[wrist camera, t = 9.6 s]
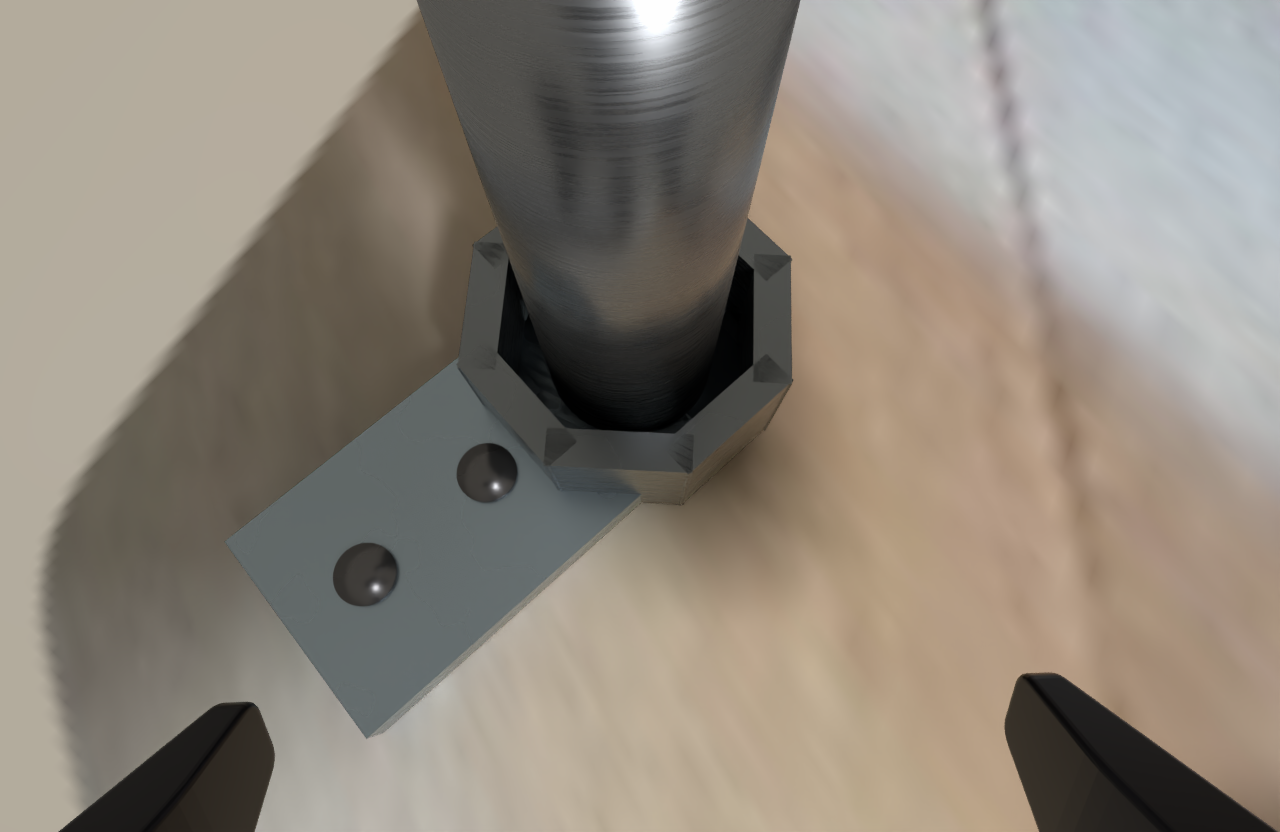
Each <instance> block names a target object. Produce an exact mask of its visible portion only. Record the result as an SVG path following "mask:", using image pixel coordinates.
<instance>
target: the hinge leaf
mask: <svg viewBox="0 0 1280 832" xmlns="http://www.w3.org/2000/svg"><path fill="white" fill-rule="evenodd" d="M473 248H474V249H473V256H472V264H471V271H470V278H469V285H468V293H467V300H466V307H465V315H464V322H463V329H462V337H461V344H460V351H459V357H458V358H457V359H456V360H454V361H453V362H452V363H450V364H449V365H448V366H447V367H445V368H444V369H443V370H442V371H440V372H439V373H438V374H437V375H435V376H434V377H433V378H431V379H430V380H429V381H428V382H426V383H425V384H424V385H423V386H421V387H420V388H419V389H417V390H416V391H415V392H414V393H412V394H411V395H410V396H409V397H407V398H406V399H405V400H404V401H402V402H401V403H400V404H398V405H397V406H396V407H395V408H393V409H392V410H391V411H390V412H388V413H387V414H386V415H384V416H383V417H382V418H381V419H379V420H378V421H377V422H376V423H374V424H373V425H372V426H371V427H369V428H368V429H367V430H365V431H364V432H363V433H362V434H360V435H359V436H358V437H357V438H355V439H354V440H353V441H351V442H350V443H349V444H348V445H346V446H345V447H344V448H343V449H341V450H340V451H339V452H338V453H336V454H335V455H334V456H332V457H331V458H330V459H329V460H327V461H326V462H325V463H324V464H322V465H321V466H320V467H318V468H317V469H316V470H315V471H313V472H312V473H311V474H310V475H308V476H307V477H306V478H305V479H303V480H302V481H301V482H299V483H298V484H297V485H296V486H294V487H293V488H292V489H291V490H289V491H288V492H287V493H285V494H284V495H283V496H282V497H280V498H279V499H278V500H277V501H275V502H274V503H273V504H272V505H270V506H269V507H268V508H266V509H265V510H264V511H263V512H261V513H260V514H259V515H258V516H256V517H255V518H254V519H252V520H251V521H250V522H249V523H247V524H246V525H245V526H244V527H242V528H241V529H240V530H239V531H237V532H236V533H235V534H233V535H232V536H231V537H230V538H228V539H227V540H226V541H225V543H226V544H227V546H228V547H229V549H230V550H231V551H232V553H233V554H234V556H235V557H236V558H237V560H238V561H239V563H240V564H241V565H242V567H243V568H244V569H245V571H246V572H247V574H248V575H249V576H250V578H251V579H252V581H253V582H254V583H255V585H256V586H257V587H258V589H259V590H260V592H261V593H262V594H263V596H264V597H265V599H266V600H267V601H268V603H269V604H270V606H271V607H272V608H273V610H274V611H275V612H276V614H277V615H278V617H279V618H280V619H281V621H282V622H283V624H284V625H285V626H286V628H287V629H288V630H289V632H290V633H291V635H292V636H293V637H294V639H295V640H296V642H297V643H298V644H299V646H300V647H301V649H302V650H303V651H304V653H305V654H306V655H307V657H308V658H309V660H310V661H311V662H312V664H313V665H314V667H315V668H316V669H317V671H318V672H319V673H320V675H321V676H322V678H323V679H324V680H325V682H326V683H327V685H328V686H329V687H330V689H331V690H332V691H333V693H334V694H335V696H336V697H337V698H338V700H339V701H340V703H341V704H342V705H343V707H344V708H345V710H346V711H347V712H348V714H349V715H350V716H351V718H352V719H353V721H354V722H355V723H356V725H357V726H358V728H359V729H360V730H361V732H362V733H363V734H364V736H365V737H366V739H367V738H370V737H373V736H376V735H379V734H381V733H383V732H385V731H386V730H387V729H388V728H389V727H390V726H391V725H392V724H394V723H395V722H396V721H397V720H398V719H399V718H400V717H401V716H402V715H404V714H405V713H406V712H407V711H408V710H409V709H410V708H411V707H413V706H414V705H415V704H416V703H417V702H418V701H419V700H420V699H422V698H423V697H424V696H425V695H426V694H427V693H428V692H429V691H430V690H432V689H433V688H434V687H435V686H436V685H437V684H438V683H439V682H441V681H442V680H443V679H444V678H445V677H446V676H447V675H448V674H450V673H451V672H452V671H453V670H454V669H455V668H456V667H457V666H459V665H460V664H461V663H462V662H463V661H464V660H465V659H466V658H467V657H469V656H470V655H471V654H472V653H473V652H474V651H475V650H476V649H478V648H479V647H480V646H481V645H482V644H483V643H484V642H485V641H487V640H488V639H489V638H490V637H491V636H492V635H493V634H494V633H495V632H497V631H498V630H499V629H500V628H501V627H502V626H503V625H504V624H506V623H507V622H508V621H509V620H510V619H511V618H512V617H513V616H515V615H516V614H517V613H518V612H519V611H520V610H521V609H522V608H524V607H525V606H526V605H527V604H528V603H529V602H530V601H531V600H532V599H534V598H535V597H536V596H537V595H538V594H539V593H540V592H541V591H543V590H544V589H545V588H546V587H547V586H548V585H549V584H550V583H552V582H553V581H554V580H555V579H556V578H557V577H558V576H559V575H560V574H562V573H563V572H564V571H565V570H566V569H567V568H568V567H569V566H571V565H572V564H573V563H574V562H575V561H576V560H577V559H578V558H580V557H581V556H582V555H583V554H584V553H585V552H586V551H587V550H589V549H590V548H591V547H592V546H593V545H594V544H595V543H596V542H597V541H599V540H600V539H601V538H602V537H603V536H604V535H605V534H606V533H608V532H609V531H610V530H611V529H612V528H613V527H614V526H615V525H617V524H618V523H619V522H620V521H621V520H622V519H623V518H624V517H625V516H627V515H628V514H629V513H630V512H631V511H632V510H633V509H634V508H636V507H637V506H638V505H639V504H640V503H641V502H645V503H665V504H679V505H681V504H684V502H685V501H686V500H687V499H688V498H689V497H690V496H691V495H692V494H694V493H695V492H696V491H697V490H698V489H699V488H700V487H701V486H702V485H703V484H705V483H706V482H707V481H708V480H709V479H710V478H711V477H712V476H713V475H714V474H716V473H717V472H718V471H719V470H720V469H721V468H722V467H723V466H724V465H726V464H727V463H728V462H729V461H730V460H731V459H732V458H733V457H734V456H735V455H737V454H738V453H739V452H740V451H741V450H742V449H743V448H744V447H745V446H746V445H748V444H749V443H750V442H751V441H752V440H753V439H754V438H755V437H756V436H758V435H759V434H760V433H761V432H762V431H763V430H764V431H765V430H766V428H767V426H768V425H769V423H770V421H771V419H772V418H773V416H774V414H775V412H776V411H777V409H778V407H779V405H780V404H781V402H782V400H783V398H784V397H785V395H786V393H787V391H788V390H789V388H790V386H791V385H792V382H793V379H792V346H791V261H792V258H791V256H788V255H787V254H786V253H785V252H784V251H783V250H782V249H781V248H780V247H779V246H777V245H776V244H775V243H774V242H773V241H772V240H771V239H770V238H769V237H768V236H767V235H766V234H764V233H763V232H762V231H761V230H760V229H759V228H758V227H757V226H756V225H755V224H754V223H753V222H751V221H750V220H749V219H748V218H747V222H746V226H745V230H744V234H743V238H742V242H741V246H740V250H739V255H738V259H737V263H736V267H735V271H734V275H733V279H732V283H731V287H730V292H729V296H728V300H727V304H726V308H725V312H724V316H723V320H722V324H721V329H720V333H719V337H718V341H717V345H716V349H715V353H714V357H713V362H712V366H711V370H710V374H709V378H708V381H707V384H706V387H705V389H704V391H703V393H702V395H701V396H700V398H699V399H698V401H697V402H696V404H695V405H694V406H693V407H692V408H691V409H690V410H689V411H688V412H687V413H686V414H685V415H684V416H683V417H681V418H680V419H679V420H677V421H676V422H674V423H672V424H671V425H669V426H667V427H664V428H662V429H660V430H657V431H654V432H650V433H649V432H629V431H609V430H600V429H597V428H595V427H593V426H591V425H589V424H587V423H586V422H584V421H582V420H581V419H579V418H578V417H577V416H576V415H575V414H574V413H572V412H571V411H570V410H569V408H568V407H567V406H566V405H565V404H564V402H563V401H562V399H561V398H560V396H559V395H558V393H557V390H556V388H555V386H554V384H553V381H552V378H551V375H550V372H549V370H548V367H547V364H546V361H545V358H544V356H543V353H542V350H541V347H540V344H539V341H538V339H537V336H536V333H535V330H534V327H533V325H532V322H531V319H530V316H529V313H528V311H527V308H526V305H525V302H524V299H523V297H522V294H521V291H520V288H519V285H518V283H517V280H516V277H515V274H514V271H513V269H512V266H511V263H510V260H509V257H508V255H507V252H506V249H505V246H504V243H503V240H502V238H501V235H500V232H499V229H498V226H497V227H496V228H494V229H493V230H492V231H490V232H489V233H488V234H487V235H485V236H484V237H483V238H481V239H480V240H479V241H477V242H474V244H473Z"/></svg>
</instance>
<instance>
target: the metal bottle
mask: <svg viewBox="0 0 1280 832" xmlns="http://www.w3.org/2000/svg"><path fill="white" fill-rule="evenodd" d="M417 2H418V5H419V8H420V10H421V13H422V16H423V19H424V22H425V24H426V27H427V30H428V33H429V36H430V38H431V41H432V44H433V47H434V50H435V53H436V55H437V58H438V61H439V64H440V67H441V69H442V72H443V75H444V78H445V81H446V83H447V86H448V89H449V92H450V95H451V97H452V100H453V103H454V106H455V109H456V111H457V114H458V117H459V120H460V123H461V125H462V128H463V131H464V134H465V137H466V139H467V142H468V145H469V148H470V151H471V154H472V156H473V159H474V162H475V165H476V168H477V170H478V173H479V176H480V179H481V182H482V184H483V187H484V190H485V193H486V196H487V198H488V201H489V204H490V207H491V210H492V212H493V215H494V218H495V221H496V224H497V226H498V229H499V232H500V235H501V238H502V240H503V243H504V246H505V249H506V252H507V255H508V257H509V260H510V263H511V266H512V269H513V271H514V274H515V277H516V280H517V283H518V285H519V288H520V291H521V294H522V297H523V299H524V302H525V305H526V308H527V311H528V313H529V316H530V319H531V322H532V325H533V327H534V330H535V333H536V336H537V339H538V341H539V344H540V347H541V350H542V353H543V356H544V358H545V361H546V364H547V367H548V370H549V372H550V375H551V378H552V381H553V384H554V386H555V388H556V390H557V393H558V395H559V396H560V398H561V399H562V401H563V402H564V404H565V405H566V406H567V407H568V408H569V410H570V411H571V412H572V413H574V414H575V415H576V416H577V417H578V418H579V419H581V420H582V421H584V422H586V423H587V424H589V425H591V426H593V427H595V428H597V429H600V430H609V431H629V432H649V433H650V432H654V431H657V430H660V429H662V428H664V427H667V426H669V425H671V424H672V423H674V422H676V421H677V420H679V419H680V418H681V417H683V416H684V415H685V414H686V413H687V412H688V411H689V410H690V409H691V408H692V407H693V406H694V405H695V404H696V402H697V401H698V399H699V398H700V396H701V395H702V393H703V391H704V389H705V387H706V384H707V381H708V378H709V374H710V370H711V366H712V362H713V357H714V353H715V349H716V345H717V341H718V337H719V333H720V329H721V324H722V320H723V316H724V312H725V308H726V304H727V300H728V296H729V292H730V287H731V283H732V279H733V275H734V271H735V267H736V263H737V259H738V255H739V250H740V246H741V242H742V238H743V234H744V230H745V226H746V222H747V218H748V213H749V209H750V205H751V201H752V197H753V193H754V189H755V185H756V181H757V176H758V172H759V168H760V164H761V160H762V156H763V152H764V148H765V144H766V139H767V135H768V131H769V127H770V123H771V119H772V115H773V111H774V106H775V102H776V98H777V94H778V90H779V86H780V82H781V78H782V74H783V69H784V65H785V61H786V57H787V53H788V49H789V45H790V41H791V37H792V32H793V28H794V24H795V20H796V16H797V12H798V8H799V4H800V0H417Z"/></svg>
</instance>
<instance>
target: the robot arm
mask: <svg viewBox="0 0 1280 832" xmlns="http://www.w3.org/2000/svg"><path fill="white" fill-rule="evenodd" d="M1005 735H1006V740H1007V743H1008V746H1009V749H1010V752H1011V755H1012V757H1013V760H1014V763H1015V766H1016V768H1017V771H1018V774H1019V777H1020V780H1021V782H1022V785H1023V788H1024V791H1025V794H1026V796H1027V799H1028V802H1029V805H1030V807H1031V810H1032V813H1033V816H1034V819H1035V821H1036V824H1037V827H1038V830H1039V832H1278V831H1276V830H1275V829H1273V828H1272V827H1271V826H1269V825H1268V824H1267V823H1265V822H1264V821H1262V820H1261V819H1260V818H1258V817H1257V816H1255V815H1254V814H1253V813H1251V812H1250V811H1249V810H1247V809H1246V808H1244V807H1243V806H1242V805H1240V804H1239V803H1237V802H1236V801H1235V800H1233V799H1232V798H1231V797H1229V796H1228V795H1226V794H1225V793H1224V792H1222V791H1221V790H1219V789H1218V788H1217V787H1215V786H1214V785H1213V784H1211V783H1210V782H1208V781H1207V780H1206V779H1204V778H1203V777H1201V776H1200V775H1199V774H1197V773H1196V772H1195V771H1193V770H1192V769H1190V768H1189V767H1188V766H1186V765H1185V764H1183V763H1182V762H1181V761H1179V760H1178V759H1176V758H1175V757H1174V756H1172V755H1171V754H1170V753H1168V752H1167V751H1165V750H1164V749H1163V748H1161V747H1160V746H1158V745H1157V744H1156V743H1154V742H1153V741H1152V740H1150V739H1149V738H1147V737H1146V736H1145V735H1143V734H1142V733H1140V732H1139V731H1138V730H1136V729H1135V728H1134V727H1132V726H1131V725H1129V724H1128V723H1127V722H1125V721H1124V720H1122V719H1121V718H1120V717H1118V716H1117V715H1116V714H1114V713H1113V712H1111V711H1110V710H1109V709H1107V708H1106V707H1104V706H1103V705H1102V704H1100V703H1099V702H1098V701H1096V700H1095V699H1093V698H1092V697H1091V696H1089V695H1088V694H1086V693H1085V692H1084V691H1082V690H1081V689H1080V688H1078V687H1077V686H1075V685H1074V684H1073V683H1071V682H1070V681H1068V680H1067V679H1066V678H1064V677H1062V676H1061V675H1058V674H1056V673H1026V674H1022V675H1021V676H1020V677H1019V678H1018V679H1017V681H1016V684H1015V687H1014V691H1013V694H1012V698H1011V701H1010V704H1009V708H1008V711H1007V715H1006V718H1005ZM274 761H275V753H274V747H273V744H272V741H271V739H270V736H269V733H268V731H267V728H266V726H265V723H264V721H263V718H262V715H261V713H260V710H259V708H258V707H257V706H256V705H255V704H254V703H251V702H232V703H221V704H217V705H215V706H214V707H212V708H211V709H209V710H208V711H207V712H205V713H204V714H203V715H202V716H200V717H199V718H198V719H197V720H196V721H194V722H193V723H192V724H191V725H189V726H188V727H187V728H186V729H184V730H183V731H182V732H181V733H180V734H178V735H177V736H176V737H175V738H173V739H172V740H171V741H170V742H168V743H167V744H166V745H165V746H163V747H162V748H161V749H160V750H159V751H157V752H156V753H155V754H154V755H152V756H151V757H150V758H149V759H147V760H146V761H145V762H144V763H143V764H141V765H140V766H139V767H138V768H136V769H135V770H134V771H133V772H131V773H130V774H129V775H128V776H127V777H125V778H124V779H123V780H122V781H120V782H119V783H118V784H117V785H115V786H114V787H113V788H112V789H111V790H109V791H108V792H107V793H106V794H104V795H103V796H102V797H101V798H99V799H98V800H97V801H96V802H95V803H93V804H92V805H91V806H90V807H88V808H87V809H86V810H85V811H83V812H82V813H81V814H80V815H79V816H77V817H76V818H75V819H74V820H72V821H71V822H70V823H69V824H67V825H66V826H65V827H64V828H63V829H61V830H60V831H59V832H255V829H256V825H257V822H258V819H259V815H260V812H261V808H262V805H263V802H264V798H265V795H266V792H267V788H268V785H269V781H270V778H271V775H272V771H273V767H274Z"/></svg>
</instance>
